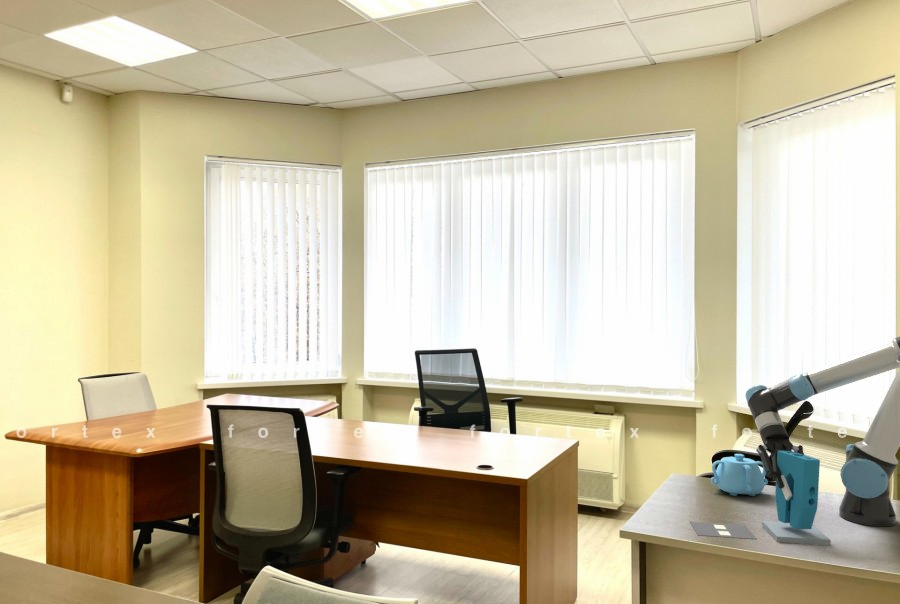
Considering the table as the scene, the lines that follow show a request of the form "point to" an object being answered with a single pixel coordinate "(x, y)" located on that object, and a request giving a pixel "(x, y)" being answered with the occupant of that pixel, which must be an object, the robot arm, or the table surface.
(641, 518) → the table surface
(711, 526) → the mat
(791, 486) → the block
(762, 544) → the table surface
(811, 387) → the robot arm
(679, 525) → the table surface
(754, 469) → the decorative pot
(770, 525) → the pad
